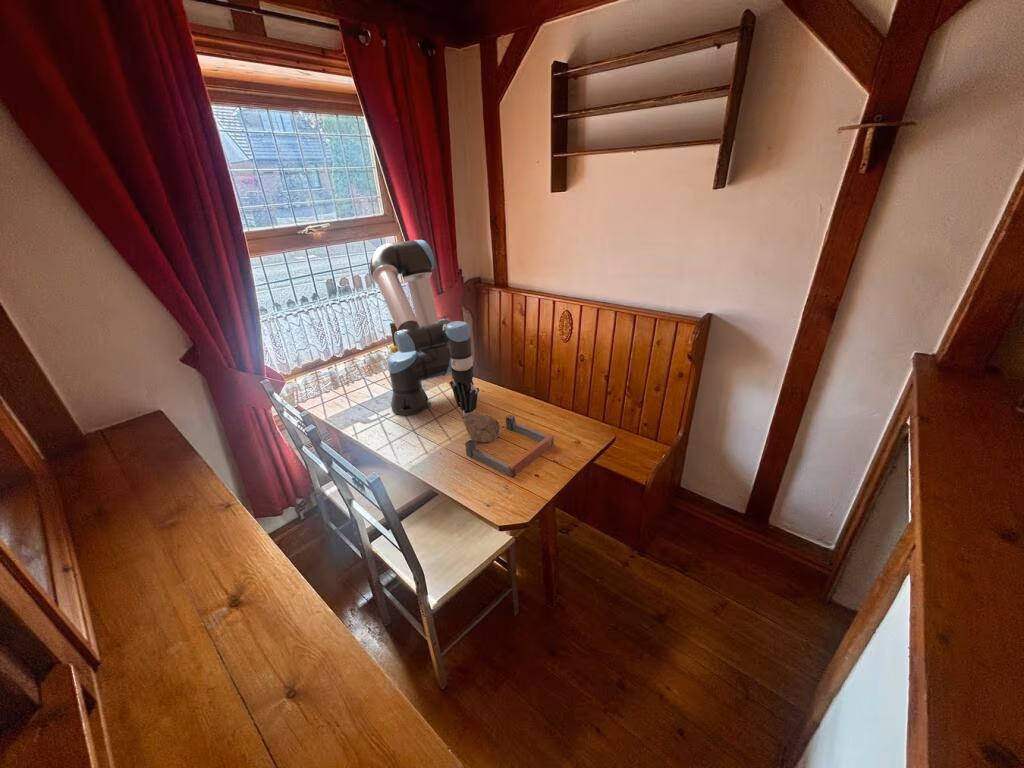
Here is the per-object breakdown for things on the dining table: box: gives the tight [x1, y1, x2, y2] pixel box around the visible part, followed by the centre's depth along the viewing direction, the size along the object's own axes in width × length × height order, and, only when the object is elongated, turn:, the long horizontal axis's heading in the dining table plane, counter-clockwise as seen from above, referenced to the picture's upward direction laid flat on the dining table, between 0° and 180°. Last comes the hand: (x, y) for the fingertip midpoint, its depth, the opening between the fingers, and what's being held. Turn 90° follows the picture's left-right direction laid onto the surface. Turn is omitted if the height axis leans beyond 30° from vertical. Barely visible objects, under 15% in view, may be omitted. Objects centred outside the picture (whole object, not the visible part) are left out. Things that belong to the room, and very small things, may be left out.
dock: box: [465, 414, 555, 479], centre depth 144 cm, size 20×23×5 cm
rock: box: [461, 411, 501, 443], centre depth 151 cm, size 14×10×8 cm
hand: (468, 425), depth 156 cm, fingers closed
